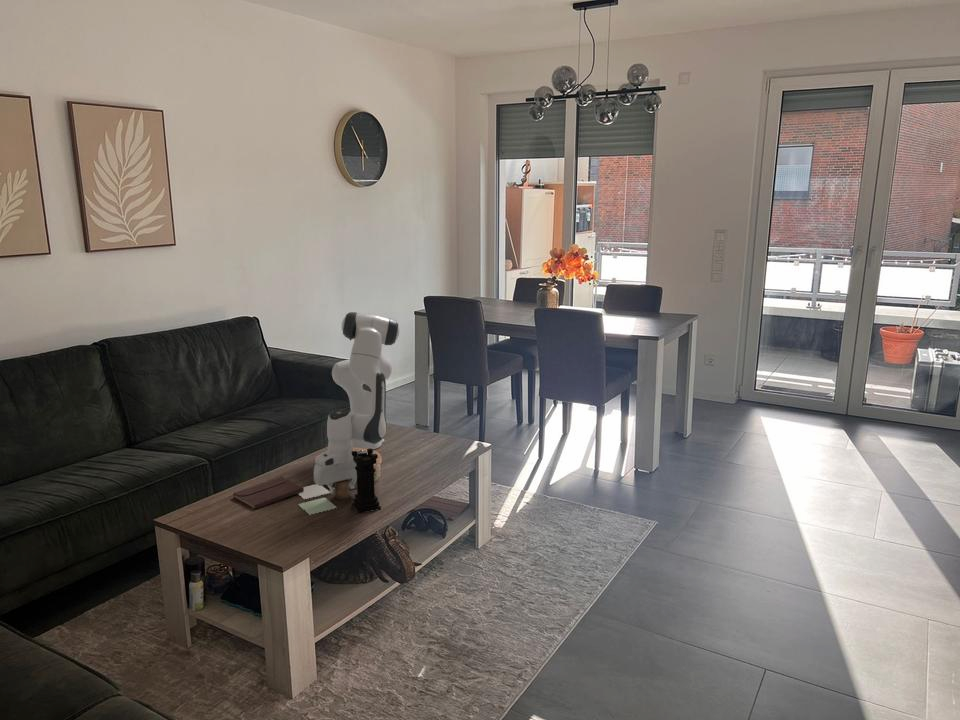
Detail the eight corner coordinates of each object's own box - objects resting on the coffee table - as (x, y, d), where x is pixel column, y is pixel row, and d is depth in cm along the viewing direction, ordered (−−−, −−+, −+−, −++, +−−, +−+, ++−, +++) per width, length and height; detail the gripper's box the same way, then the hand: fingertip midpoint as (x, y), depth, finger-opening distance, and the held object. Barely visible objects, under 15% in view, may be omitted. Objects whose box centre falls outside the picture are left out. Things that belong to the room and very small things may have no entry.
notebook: (304, 491, 259) (303, 486, 259) (255, 509, 245) (254, 504, 245) (281, 480, 269) (281, 475, 268) (233, 497, 255) (233, 492, 254)
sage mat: (298, 505, 249) (298, 504, 249) (324, 498, 254) (324, 497, 254) (309, 515, 241) (309, 514, 241) (336, 508, 247) (336, 507, 246)
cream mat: (293, 490, 261) (293, 489, 261) (319, 484, 267) (319, 483, 267) (304, 499, 253) (304, 498, 253) (330, 493, 259) (330, 492, 259)
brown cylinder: (333, 495, 257) (332, 480, 255) (345, 492, 260) (345, 477, 258) (339, 500, 253) (338, 484, 252) (351, 497, 256) (351, 481, 254)
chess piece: (374, 500, 253) (372, 447, 248) (380, 509, 246) (379, 455, 241) (352, 504, 250) (350, 451, 245) (358, 513, 243) (356, 458, 238)
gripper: (363, 446, 261) (364, 481, 264) (310, 458, 249) (312, 494, 252) (370, 451, 256) (372, 486, 259) (318, 463, 244) (320, 500, 248)
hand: (342, 490), depth 256 cm, fingers open, 6 cm apart
